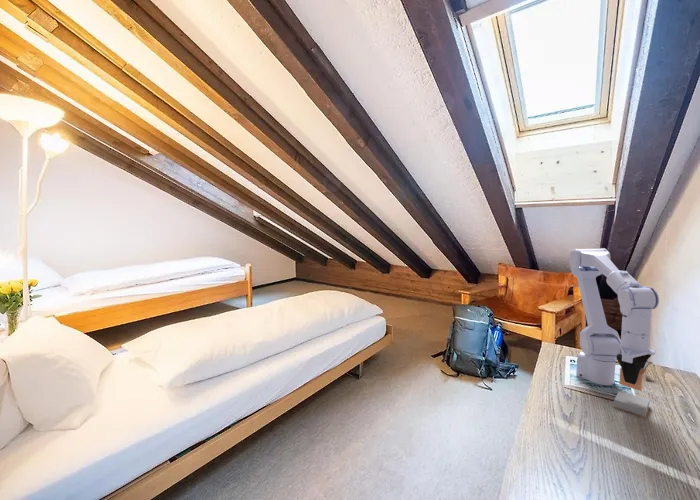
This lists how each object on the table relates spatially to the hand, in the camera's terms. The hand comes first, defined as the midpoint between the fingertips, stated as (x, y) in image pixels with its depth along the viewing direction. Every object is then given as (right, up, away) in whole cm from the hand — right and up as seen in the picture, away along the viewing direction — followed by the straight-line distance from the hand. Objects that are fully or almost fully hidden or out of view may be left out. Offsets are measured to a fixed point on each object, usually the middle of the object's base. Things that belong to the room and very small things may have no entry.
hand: (632, 379), depth 86 cm
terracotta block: (0, -2, 0) cm, 2 cm away
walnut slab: (0, -10, +1) cm, 10 cm away
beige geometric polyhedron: (+18, -7, +20) cm, 28 cm away
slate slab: (0, -8, +1) cm, 8 cm away
